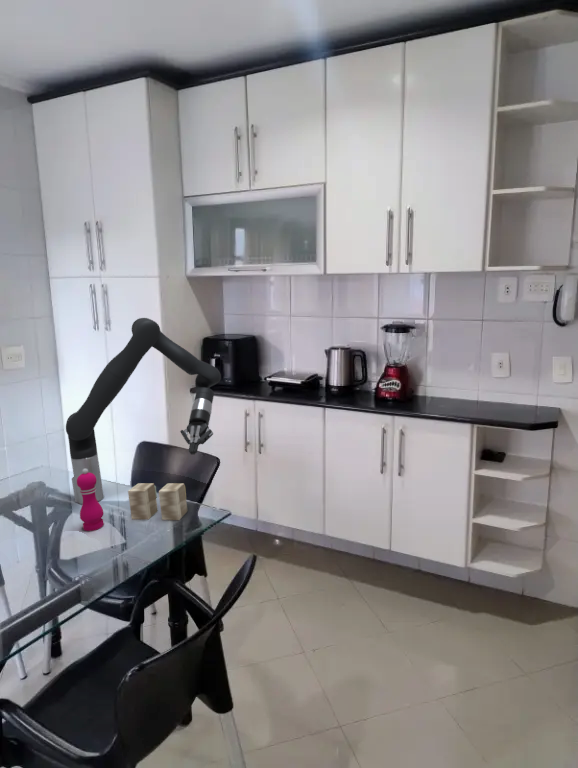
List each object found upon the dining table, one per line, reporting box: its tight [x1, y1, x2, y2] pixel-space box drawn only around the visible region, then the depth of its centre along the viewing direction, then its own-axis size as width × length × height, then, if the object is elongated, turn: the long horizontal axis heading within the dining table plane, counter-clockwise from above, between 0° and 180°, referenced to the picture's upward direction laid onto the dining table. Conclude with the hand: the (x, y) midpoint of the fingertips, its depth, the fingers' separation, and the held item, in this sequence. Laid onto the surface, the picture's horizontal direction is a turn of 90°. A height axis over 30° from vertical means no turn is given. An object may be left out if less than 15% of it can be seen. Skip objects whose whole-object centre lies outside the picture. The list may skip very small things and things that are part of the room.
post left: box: [127, 482, 159, 521], centre depth 178 cm, size 6×7×10 cm
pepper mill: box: [77, 469, 105, 532], centre depth 171 cm, size 7×7×20 cm
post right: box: [158, 482, 188, 521], centre depth 175 cm, size 6×7×10 cm
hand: (192, 453), depth 192 cm, fingers closed
